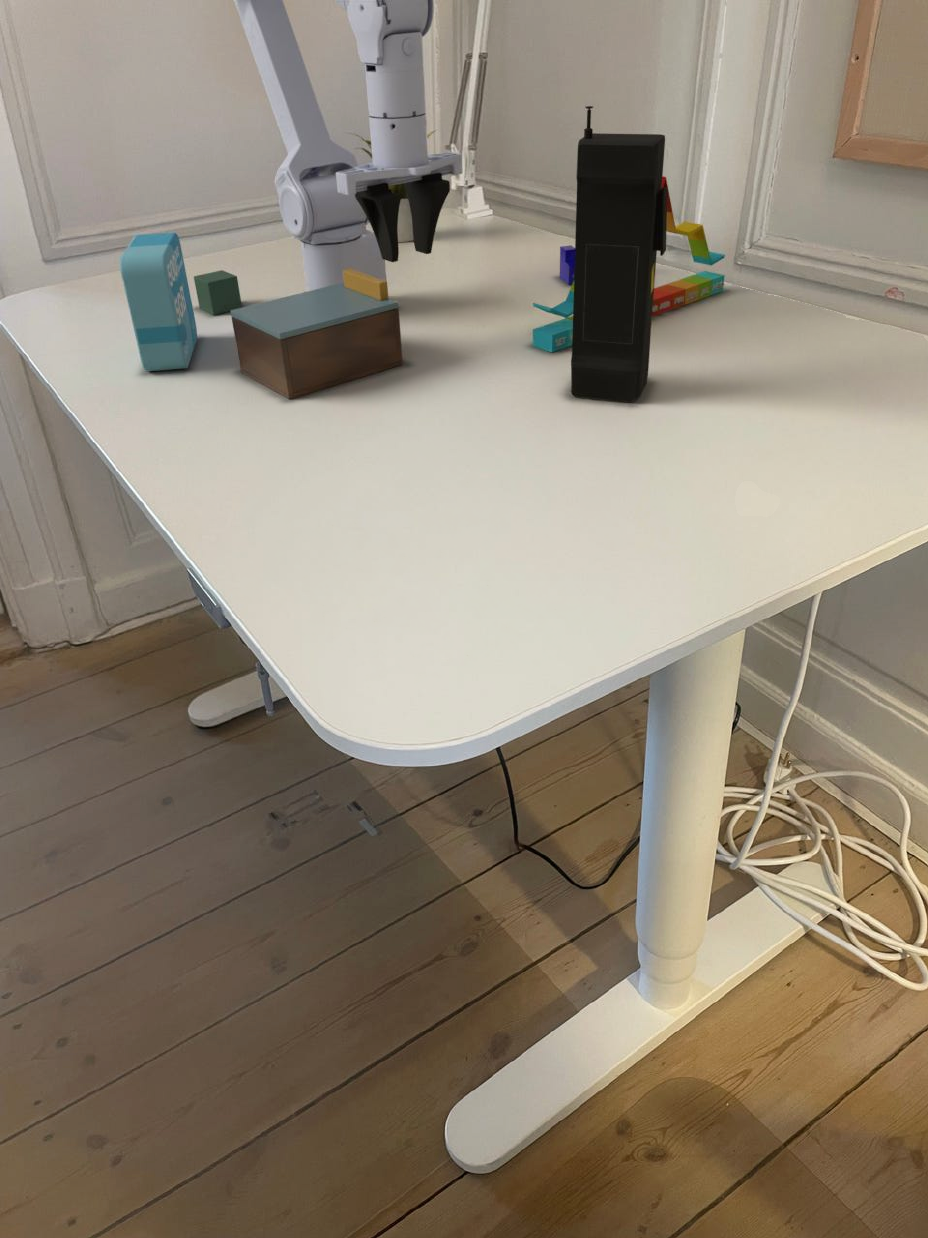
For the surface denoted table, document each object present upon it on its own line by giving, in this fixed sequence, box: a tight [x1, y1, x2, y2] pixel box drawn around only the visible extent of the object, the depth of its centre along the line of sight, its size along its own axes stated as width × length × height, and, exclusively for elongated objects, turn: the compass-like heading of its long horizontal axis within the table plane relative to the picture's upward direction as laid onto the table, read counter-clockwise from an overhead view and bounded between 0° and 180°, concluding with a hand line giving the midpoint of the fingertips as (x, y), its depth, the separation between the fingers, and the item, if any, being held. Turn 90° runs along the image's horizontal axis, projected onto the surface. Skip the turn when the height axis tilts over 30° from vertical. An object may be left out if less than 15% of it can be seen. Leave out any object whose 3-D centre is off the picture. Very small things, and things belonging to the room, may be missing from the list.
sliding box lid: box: [229, 269, 400, 339], centre depth 99 cm, size 14×10×2 cm
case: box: [231, 308, 404, 400], centre depth 101 cm, size 14×10×6 cm
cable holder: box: [559, 245, 575, 286], centre depth 126 cm, size 8×4×4 cm, turn 105°
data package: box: [119, 232, 198, 372], centre depth 105 cm, size 12×4×12 cm, turn 7°
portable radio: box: [570, 105, 668, 403], centre depth 88 cm, size 8×6×25 cm
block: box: [193, 269, 243, 316], centre depth 121 cm, size 4×4×4 cm
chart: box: [532, 176, 726, 353], centre depth 109 cm, size 30×3×15 cm, turn 131°
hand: (406, 255), depth 104 cm, fingers open, 4 cm apart
